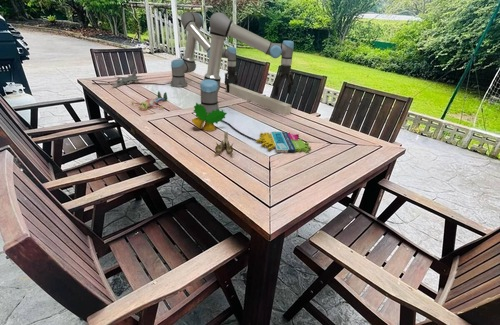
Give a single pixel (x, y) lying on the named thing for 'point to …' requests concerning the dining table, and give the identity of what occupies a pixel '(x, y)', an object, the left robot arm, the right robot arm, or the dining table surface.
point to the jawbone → (224, 145)
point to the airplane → (127, 79)
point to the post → (260, 99)
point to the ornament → (207, 117)
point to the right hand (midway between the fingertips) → (282, 94)
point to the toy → (152, 102)
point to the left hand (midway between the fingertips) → (230, 91)
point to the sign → (283, 142)
